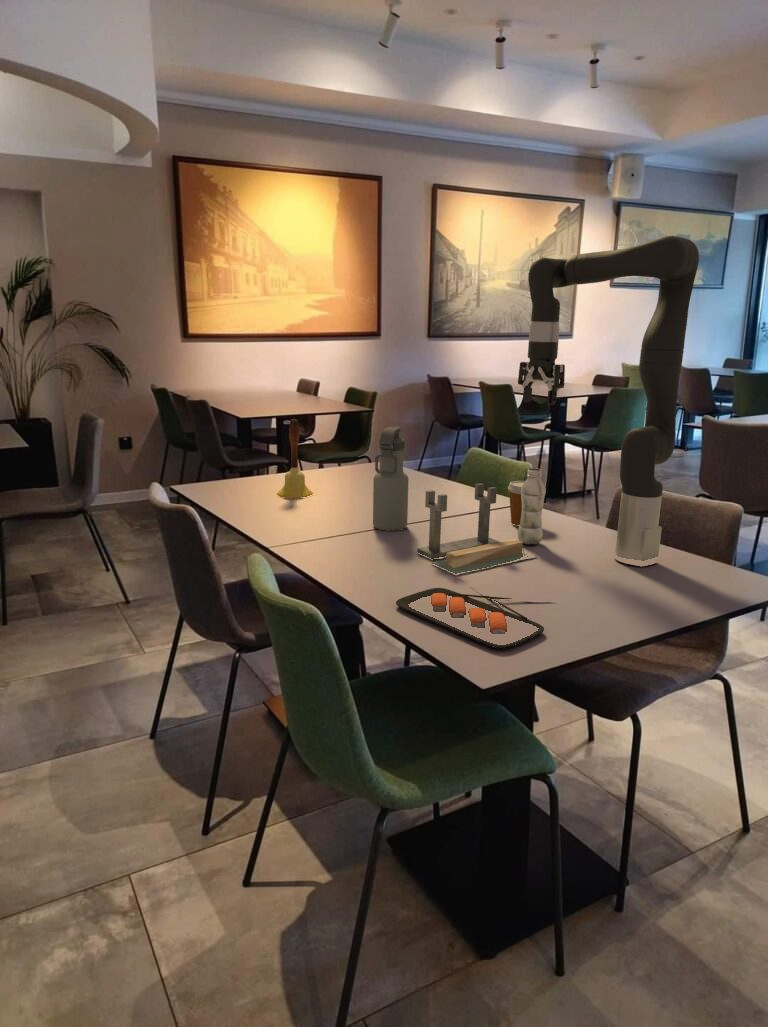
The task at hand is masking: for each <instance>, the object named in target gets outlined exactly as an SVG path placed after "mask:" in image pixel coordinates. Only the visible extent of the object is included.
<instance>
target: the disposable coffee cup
mask: <svg viewBox="0 0 768 1027" xmlns="http://www.w3.org/2000/svg"><path fill="white" fill-rule="evenodd" d="M525 481H526V480H515V481H510V482H509V485H508V486H507V489H508V493H509V494H508V495H509V507H510V509H509V510H510V524H511V523H512V524H515V525H520V521H521V514H522V498H521V488H522V485H523V484H524V482H525ZM512 524H511V525H512Z"/></svg>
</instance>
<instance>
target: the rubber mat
mask: <svg viewBox="0 0 768 1027" xmlns="http://www.w3.org/2000/svg"><path fill="white" fill-rule="evenodd" d="M522 551H523V553H521V554H517V555H512V556H508V557H503V558H499V559H494V560H490V561H485V562H480V563H476V564H471V565H467V566H462V567H458V568H452V567H450V566H448V565H446V559H443V560H442V559H441V560H438V561H437V560H436V561H431V565H432V564H435V565H437V566H439V567H441V568H444V569H446V570H448V571H450V572H453V573H455V574H457V573H461V572H467V571H472V570H477V569H482V568H487V567H491V566H494V565H498V564H502V563H506V562H510V561H514V560H517V559H520V558H521V557H523V554H524V556H525V553H524V551H525V550H524V549H522ZM526 555H527V553H526ZM527 557H528V556H527Z"/></svg>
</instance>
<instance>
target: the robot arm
mask: <svg viewBox="0 0 768 1027" xmlns="http://www.w3.org/2000/svg"><path fill="white" fill-rule="evenodd" d="M699 263H700V253H699V249H698V246H697V245H696V243H694V241H692V240H691V239H688V238H686V237H681V236H675V235H667V236H662V237H661V238H655V239H653V240H650V241H647V242H644V243H641V244H637V245H634V246H630V247H626V248H621V249H620V248H619V249H613V250H603V251H593V252H587V253H580V254H579V253H578V254H575V255H572V256H570V257H568V258H567V257H566V258H551V257H539V258H537V259H535V260H534V261H533V262H532V263H531V266H530V268H529V272H528V286H529V287H528V288H529V294H530V299H531V300H530V301H531V305H532V307H531V316H530V317H531V318H530V325H529V326H530V327H529V331H528V332H529V333H528V346H527V347H528V350H527V358H528V359H529V361H521V362H520V363H519V368H518V377H517V378H518V379H517V384H518V385H521V387H523V391H522V392H523V393H522V394H523V395H522V398H523V402H524V403H531V402H532V400H533V399H532V398H533V385H534V384H535V382H536V381H543V383H544V384H546V386H547V389H548V391H547V403H546V404H547V406H555V405H556V403H557V398H558V390H560V389H564V388H565V374H566V365H565V364H563V363H562V364H556V360H557V358H558V350H559V337H560V312H561V302H560V300H559V299H558V298H556V297H555V295H554V289H558V288H564V287H569V286H574V285H587V284H588V285H589V284H596V283H602V282H608V281H612V280H615V279H620V278H626V277H645V278H654V279H655V278H656V279H657V280H658V279H659V286H658V287H659V288H658V289H659V290H658V298H657V304H656V307H655V310H654V312H653V315H652V317H651V318H650V321H649V323H648V326H647V327H646V330H645V333H644V335H643V338H642V342H641V347H640V354H639V356H640V357H639V363H638V365H639V366H638V371H639V377H640V380H641V381H640V382H641V384H642V386H643V390H644V394H645V397H646V402H647V405H646V406H647V409H646V410H647V411H646V418H645V424H644V427H643V426H642V427H636V428H633V429H630V430H629V431H628V432H627V433H626V434H625V435H624V438H623V440H622V444H621V447H620V448H621V450H620V463H619V464H620V467H619V478H620V483H621V486H622V487H621V495H620V496H621V497H620V503H619V504H620V505H619V512H618V513H619V514H618V522H617V523H618V524H617V525H618V526H617V533H616V541H615V542H616V543H615V553H614V555H615V554H616V555H617V556H618V557H621V558H626V559H634V560H641V561H645V560H648V559H652V558H655V557H658V558H659V556H660V555H659V554H660V546H661V545H660V544H661V538H662V529H663V527H662V526H660V525H659V522H660V512H661V506H662V499H663V498H662V497H663V492H664V491H663V490H664V486H663V485H664V484H663V483H662V482H661V481H659V480H657V479H656V478H655V471H656V470H655V467H656V465H661V464H663V463H666V462H667V461H668V460H670V458H671V457H672V456H673V454H674V450H675V446H676V445H675V444H676V420H677V419H676V416H677V412H676V411H677V402H678V394H679V386H680V378H681V377H680V375H681V371H682V366H683V359H684V351H685V340H686V333H687V326H688V317H689V307H690V301H691V297H692V292H693V288H694V283H695V281H696V280H695V279H696V276H697V271H698V267H699Z"/></svg>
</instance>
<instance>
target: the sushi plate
mask: <svg viewBox="0 0 768 1027" xmlns="http://www.w3.org/2000/svg"><path fill="white" fill-rule="evenodd" d="M431 595H432V596H431ZM447 595H448V596H452V598H450V600H449V612H450V615H451V617H452V618H464V615H466V607H465V602H467V603H470V604H472V605H475V606H477V607H479V608H471V609H469V611H468V613H469V617H470V621H471V626H472V627H477V628H485V621H486V620H487V618H486V613H485V610H488V611H491V612H492V613H489V615H488V618H489V626H490V632H491V633H492V634H505V632H507V623H506V619H505V616H509V617H511V618H514V619H517V620H519V621H523V622H525V623H529V624H532V625H533V626H536V627H537V628H539V629H538V631H536V632H534V633H533V634H531V635H530V636H527V637H525V638H522V639H521V640H518V641H516V642H513V643H510V644H506V645H497V644H493V643H490V642H487V641H484V640H482V639H480V638H477V637H475V636H473V635H470V634H468V633H466V632H464V631H461V630H459V629H457V628H455V627H452V626H450V625H448V624H446V623H444V622H442V621H439V620H437V619H435V618H433V617H430V616H428V615H425V614H423V613H421V612H419V611H416V610H415V609H412V608H411V607H409V605H408V604H410V603H411V602H414V601H416V600H418V599H420V598H422V597H427V596H431V604H432V606H433V611H434V612H445V611H446V605H447ZM476 598H479V599H488V598H490V599H495V600H494V601H496V602H498V603H499V604H500V605H499V604H498V605H499V606H501V605H502V606H501V607H503V608H504V607H505V609H507V610H508V611H507V610H504V609H501V608H499V607H496V606H495V605H491V604H489V603H486V602H484V601H480V600H478V599H476ZM490 599H489V600H490ZM500 599H512V597H502V596H501V597H500V596H498V597H497V596H490V595H488V596H482V595H477V594H465V593H459V592H456V591H454V590H450V589H447V588H444V587H433V588H428V589H425V590H422V591H418V592H415V593H412V594H409V595H407V596H403V597H401V598H398V599H397V600H396V601H395V605H396V606H397V607H398V608H399V609H402V610H404V611H406V612H408V613H411V614H414V615H416V616H418V617H420V618H422V619H425V620H427V621H429V622H432V623H434V624H436V625H438V626H440V627H443V628H446V629H447V630H450V631H452V632H454V631H455V633H457V634H459V633H460V634H459V635H461V634H462V636H464V635H465V636H464V637H466V636H467V637H466V638H468V637H469V639H471V638H472V639H471V640H473V639H474V640H473V641H475V640H477V641H476V642H478V641H479V642H478V643H480V642H482V643H481V644H483V643H484V644H483V645H485V644H487V645H486V646H488V645H490V646H489V647H491V646H494V647H496V648H495V649H500V648H502V649H507V648H506V647H509V648H511V647H510V646H512V647H514V646H513V645H515V644H518V643H520V642H523V641H525V640H527V641H529V640H531V639H530V638H532V637H534V636H536V635H538V634H540V633H541V634H543V633H544V631H545V627H544V626H543V625H541V624H540V623H538V622H535V621H532V620H531V619H528V617H527V616H524V615H523V614H521V613H519V612H517V611H515V610H514V609H512V608H511V607H509V606H507V605H505V604H503V603H502V602H500V601H498V600H500ZM484 609H485V610H484ZM541 634H540V635H541ZM538 636H539V635H538ZM536 637H537V636H536ZM534 638H535V637H534ZM528 639H529V640H528ZM532 639H533V638H532ZM525 642H526V641H525ZM523 643H524V642H523ZM520 644H521V643H520ZM518 645H519V644H518ZM515 646H516V645H515ZM494 647H493V648H494Z"/></svg>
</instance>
